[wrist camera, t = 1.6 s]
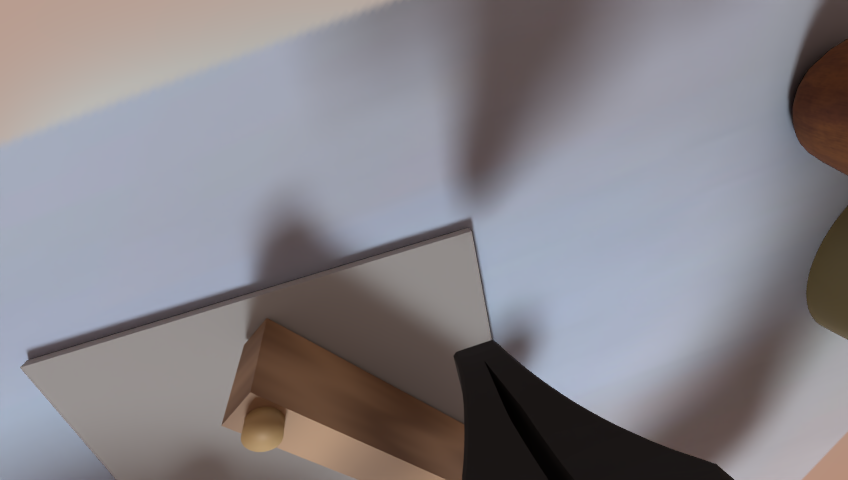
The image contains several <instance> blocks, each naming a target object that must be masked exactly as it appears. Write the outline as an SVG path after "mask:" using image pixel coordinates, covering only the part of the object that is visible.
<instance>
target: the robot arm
mask: <svg viewBox="0 0 848 480" xmlns="http://www.w3.org/2000/svg"><path fill="white" fill-rule="evenodd" d="M454 361H455V365H456V369H457V373H458V377H459V381H460V385H461V390H462V394H463V403H464V460H463V472H462V480H734V479H733V478H732V477H731V476H729V475H728V474H727V473H726V472H725V471H723V470H722V469H721V468H720V467H719V466H718V465H717V464H714V463H711V462H708V461H705V460H702V459H699V458H696V457H693V456H690V455H687V454H684V453H681V452H678V451H675V450H673V449H670V448H667V447H665V446H662V445H660V444H657V443H655V442H652V441H650V440H647V439H645V438H643V437H641V436H639V435H637V434H634V433H632V432H630V431H628V430H626V429H624V428H621V427H619V426H617V425H615V424H613V423H611V422H609V421H607V420H605V419H603V418H601V417H600V416H598V415H596V414H594V413H592V412H590V411H589V410H587V409H585V408H583V407H582V406H580V405H578V404H577V403H575V402H573V401H572V400H570V399H569V398H567V397H566V396H564V395H563V394H561V393H560V392H558V391H557V390H555V389H554V388H552V387H551V386H549V385H548V384H546V383H545V382H544V381H542V380H541V379H540V378H538V377H537V376H536V375H534V374H533V373H532V372H530V371H529V370H528V369H526V368H525V367H524V366H523V365H521V364H520V363H519V362H518V361H517V360H515V359H514V358H513V357H512V356H511V355H510V354H508V353H507V352H506V351H505V350H504V349H503V348H502V347H501V346H500V345H499V344H498V343H496V342H495V341H493V340H490V341H487V342H484V343H481V344H478V345H475V346H472V347H469V348H466V349H463V350H460V351H457V352H456V353H455V354H454Z"/></svg>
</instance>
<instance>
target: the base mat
mask: <svg viewBox="0 0 848 480" xmlns="http://www.w3.org/2000/svg"><path fill="white" fill-rule="evenodd" d="M266 318H268V319H270V320H272V321H274V322H275V323H277V324H279V325H281V326H283V327H285V328H287V329H288V330H290V331H292V332H294V333H296V334H298V335H300V336H301V337H303V338H305V339H307V340H309V341H311V342H313V343H314V344H316V345H318V346H320V347H322V348H324V349H325V350H327V351H329V352H331V353H333V354H335V355H337V356H338V357H340V358H342V359H344V360H346V361H348V362H350V363H351V364H353V365H355V366H357V367H359V368H361V369H363V370H364V371H366V372H368V373H370V374H372V375H374V376H375V377H377V378H379V379H381V380H383V381H385V382H387V383H388V384H390V385H392V386H394V387H396V388H398V389H400V390H401V391H403V392H405V393H407V394H409V395H411V396H413V397H414V398H416V399H418V400H420V401H422V402H424V403H425V404H427V405H429V406H431V407H433V408H435V409H437V410H438V411H440V412H442V413H444V414H446V415H448V416H450V417H451V418H453V419H455V420H457V421H459V422H461V423H463V424H464V403H463V394H462V390H461V385H460V381H459V377H458V373H457V369H456V365H455V361H454V354H455V353H456V352H457V351H460V350H463V349H466V348H469V347H472V346H475V345H478V344H481V343H484V342H487V341H490V340H492V338H491V333H490V328H489V322H488V317H487V311H486V306H485V301H484V295H483V290H482V284H481V279H480V274H479V268H478V263H477V257H476V252H475V247H474V241H473V236H472V231H471V230H470V229H469V228H466V229H462V230H459V231H456V232H452V233H449V234H446V235H442V236H439V237H436V238H432V239H429V240H426V241H423V242H419V243H416V244H413V245H409V246H406V247H403V248H399V249H396V250H393V251H389V252H386V253H383V254H379V255H376V256H373V257H369V258H366V259H363V260H359V261H356V262H353V263H349V264H346V265H343V266H339V267H336V268H333V269H329V270H326V271H323V272H319V273H316V274H313V275H309V276H306V277H303V278H300V279H296V280H293V281H290V282H286V283H283V284H280V285H276V286H273V287H270V288H266V289H263V290H260V291H256V292H253V293H250V294H246V295H243V296H240V297H236V298H233V299H230V300H226V301H223V302H220V303H216V304H213V305H210V306H206V307H203V308H200V309H196V310H193V311H190V312H186V313H183V314H180V315H177V316H173V317H170V318H167V319H163V320H160V321H157V322H153V323H150V324H147V325H143V326H140V327H137V328H133V329H130V330H127V331H123V332H120V333H117V334H113V335H110V336H107V337H103V338H100V339H97V340H93V341H90V342H87V343H83V344H80V345H77V346H73V347H70V348H67V349H63V350H60V351H57V352H54V353H50V354H47V355H44V356H40V357H37V358H34V359H30V360H27V361H26V362H25V363H24V364H23V365H22V366H21V367H20V368H21V369H22V370H23V372H24V373H25V374H26V375H27V376H28V377H29V379H30V380H31V381H32V382H33V383H34V384H35V386H36V387H37V388H38V389H39V390H40V391H41V393H42V394H43V395H44V396H45V397H46V398H47V400H48V401H49V402H50V403H51V404H52V405H53V407H54V408H55V409H56V410H57V411H58V412H59V414H60V415H61V416H62V417H63V418H64V419H65V421H66V422H67V423H68V424H69V425H70V426H71V428H72V429H73V430H74V431H75V432H76V433H77V435H78V436H79V437H80V438H81V439H82V440H83V442H84V443H85V444H86V445H87V446H88V447H89V449H90V450H91V451H92V452H93V453H94V454H95V456H96V457H97V458H98V459H99V460H100V461H101V463H102V464H103V465H104V466H105V467H106V468H107V470H108V471H109V472H110V473H111V474H112V475H113V477H114V478H115V479H116V480H357V479H355V478H352V477H350V476H347V475H344V474H342V473H339V472H337V471H334V470H332V469H329V468H327V467H324V466H322V465H319V464H317V463H314V462H312V461H309V460H307V459H304V458H301V457H299V456H296V455H294V454H291V453H289V452H286V451H284V450H281V449H279V448H274V449H272V450H270V451H266V452H254V451H251V450H248V449H247V448H245V447H244V446H243V444H242V442H241V433H238V432H236V431H233V430H231V429H228V428H226V427H223V426H221V425H222V421H223V418H224V414H225V411H226V407H227V404H228V400H229V396H230V393H231V389H232V386H233V382H234V379H235V375H236V372H237V368H238V364H239V361H240V357H241V354H242V350H243V347H244V344H245V343H246V342H247V341H248V340H249V338H250V337H251V336H252V335H253V334H254V332H255V331H256V330H257V329H258V328H259V327H260V325H261V324H262V323H263V322H264V321H265V319H266Z"/></svg>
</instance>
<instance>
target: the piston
mask: <svg viewBox="0 0 848 480" xmlns="http://www.w3.org/2000/svg"><path fill="white" fill-rule="evenodd" d="M806 298H807V305H808V309H809V311H810V314H811V316H812V317H813V319H814V320H815V321H816V322H817V323H818V324H820V325H821V326H823V327H825V328H827V329H829V330H830V331H832V332H834V333H836V334H838V335H840V336H842V337H844V338H846V339H847V340H848V206H847V207H846V208H845V209H844V211H843V212H842V213H841V214H840V216H839V217H838V218H837V220H836V221H835V222H834V224H833V225H832V227H831V228H830V230H829V231H828V233H827V234H826V236H825V238H824V240H823V241H822V243H821V245H820V247H819V249H818V251H817V253H816V256H815V258H814V261H813V263H812V266H811V269H810V273H809V277H808V282H807V290H806Z"/></svg>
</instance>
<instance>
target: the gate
mask: <svg viewBox="0 0 848 480" xmlns="http://www.w3.org/2000/svg"><path fill="white" fill-rule="evenodd" d="M221 426H223V427H226V428H228V429H231V430H233V431H236V432H238V433H241V442H242V444H243V446H244V447H245V448H247V449H248V450H251V451H254V452H266V451H270V450H272V449H274V448H279V449H281V450H284V451H286V452H289V453H291V454H294V455H296V456H299V457H301V458H304V459H307V460H309V461H312V462H314V463H317V464H319V465H322V466H324V467H327V468H329V469H332V470H334V471H337V472H339V473H342V474H344V475H347V476H350V477H352V478H355V479H357V480H462V472H463V460H464V424H463V423H461V422H459V421H457V420H455V419H453V418H451V417H450V416H448V415H446V414H444V413H442V412H440V411H438V410H437V409H435V408H433V407H431V406H429V405H427V404H425V403H424V402H422V401H420V400H418V399H416V398H414V397H413V396H411V395H409V394H407V393H405V392H403V391H401V390H400V389H398V388H396V387H394V386H392V385H390V384H388V383H387V382H385V381H383V380H381V379H379V378H377V377H375V376H374V375H372V374H370V373H368V372H366V371H364V370H363V369H361V368H359V367H357V366H355V365H353V364H351V363H350V362H348V361H346V360H344V359H342V358H340V357H338V356H337V355H335V354H333V353H331V352H329V351H327V350H325V349H324V348H322V347H320V346H318V345H316V344H314V343H313V342H311V341H309V340H307V339H305V338H303V337H301V336H300V335H298V334H296V333H294V332H292V331H290V330H288V329H287V328H285V327H283V326H281V325H279V324H277V323H275V322H274V321H272V320H270V319H268V318H266V319H265V321H264V322H263V323H262V324H261V325H260V327H259V328H258V329H257V330H256V331H255V332H254V334H253V335H252V336H251V337H250V338H249V340H248V341H247V342H246V343H245V344H244V347H243V350H242V354H241V357H240V361H239V364H238V368H237V372H236V375H235V379H234V382H233V386H232V389H231V393H230V396H229V400H228V404H227V407H226V411H225V414H224V418H223V421H222V425H221Z"/></svg>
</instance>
